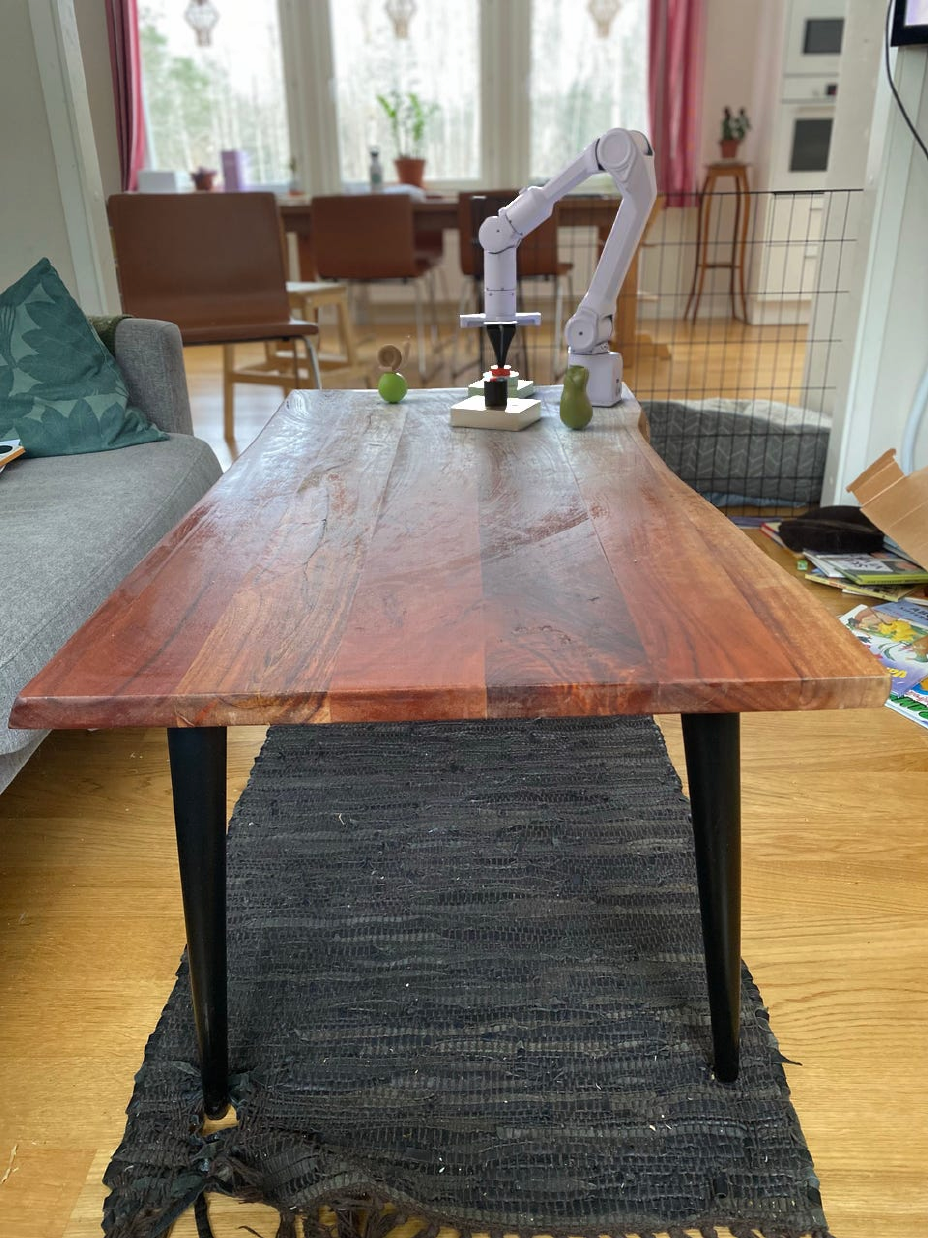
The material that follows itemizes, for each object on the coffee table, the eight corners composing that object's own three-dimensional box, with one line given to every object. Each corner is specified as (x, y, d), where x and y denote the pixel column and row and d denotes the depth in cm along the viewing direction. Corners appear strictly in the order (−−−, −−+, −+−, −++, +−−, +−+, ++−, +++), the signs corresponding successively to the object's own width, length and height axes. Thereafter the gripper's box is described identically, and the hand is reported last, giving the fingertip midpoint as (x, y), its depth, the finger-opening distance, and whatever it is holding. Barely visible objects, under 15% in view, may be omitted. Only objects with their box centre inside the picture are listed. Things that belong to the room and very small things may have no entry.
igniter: (533, 393, 178) (533, 371, 176) (517, 401, 171) (517, 379, 169) (485, 390, 182) (485, 369, 180) (468, 397, 175) (467, 376, 173)
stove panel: (540, 418, 158) (540, 399, 156) (518, 431, 149) (518, 411, 148) (475, 413, 162) (475, 395, 161) (450, 425, 154) (450, 406, 153)
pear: (563, 423, 154) (564, 361, 149) (595, 425, 152) (597, 362, 148) (555, 431, 149) (557, 367, 145) (588, 432, 147) (590, 368, 143)
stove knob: (489, 400, 157) (489, 374, 155) (511, 402, 156) (511, 375, 154) (479, 405, 154) (479, 378, 152) (502, 406, 152) (501, 379, 150)
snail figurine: (409, 405, 170) (405, 337, 165) (375, 404, 171) (371, 337, 166) (416, 399, 175) (413, 333, 170) (383, 399, 176) (379, 332, 171)
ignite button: (513, 375, 176) (513, 365, 175) (506, 378, 173) (506, 368, 172) (495, 374, 177) (495, 364, 176) (488, 377, 174) (488, 367, 173)
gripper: (462, 292, 164) (463, 371, 170) (543, 289, 165) (542, 368, 171) (458, 288, 171) (460, 364, 176) (537, 286, 172) (536, 362, 177)
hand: (500, 366), depth 174 cm, fingers closed
